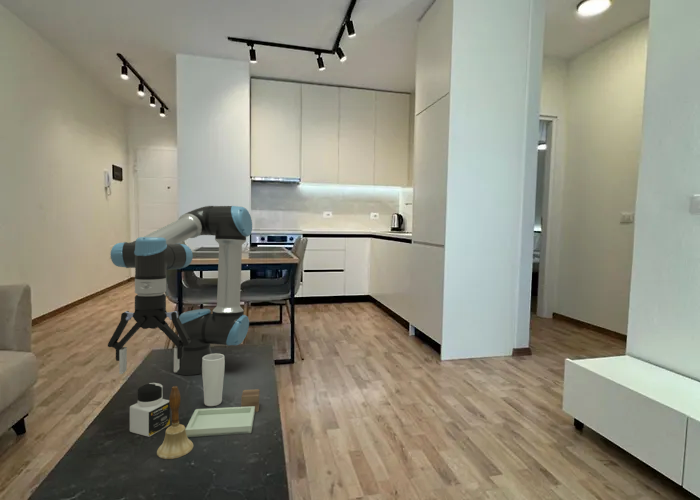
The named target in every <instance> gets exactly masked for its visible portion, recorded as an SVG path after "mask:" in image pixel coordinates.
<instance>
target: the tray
mask: <svg viewBox="0 0 700 500" xmlns="http://www.w3.org/2000/svg"><path fill="white" fill-rule="evenodd" d="M255 413H256V412H255V406H249V407H241V406H232V407H216V408H215V407H213V408H210V407H209V408H196V409H195V410H194V412H193V413H192V415H191V418H190V419H189V421H188V424H187V425H186V427H185V430H186V435H187V438H198V437H211V436H213V437H214V436H227V435H228V436H230V435H242V434H243V435H244V434H245V435H246V434H252V430H253V425H254V418H255Z"/></svg>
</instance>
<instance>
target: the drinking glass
mask: <svg viewBox="0 0 700 500" xmlns="http://www.w3.org/2000/svg"><path fill="white" fill-rule="evenodd" d="M225 359H226V358H225V355H224V354H222V353H212V354H209V355H205V356H204V357H203V358H202V373H201V375H202V385H203V387H202V389H203V404H204V405H205V406H207V407H216V406H219V405H221V403H222V402H223V389H224V388H223V387H224V379H225V365H226V362H225V361H226V360H225Z"/></svg>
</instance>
